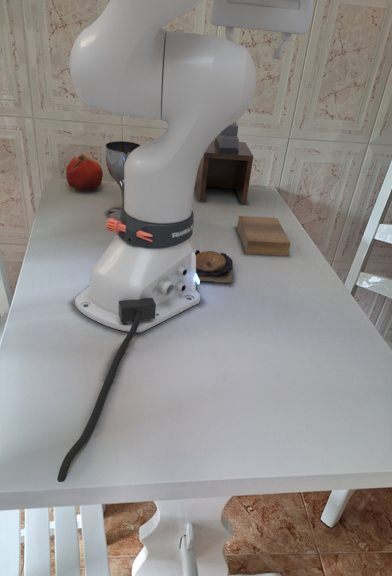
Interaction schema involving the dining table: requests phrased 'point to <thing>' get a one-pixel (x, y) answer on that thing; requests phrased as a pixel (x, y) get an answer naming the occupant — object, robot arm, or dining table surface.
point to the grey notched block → (228, 140)
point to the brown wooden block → (263, 236)
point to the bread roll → (213, 266)
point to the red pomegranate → (84, 173)
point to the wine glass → (118, 166)
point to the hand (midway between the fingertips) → (254, 56)
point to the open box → (225, 171)
